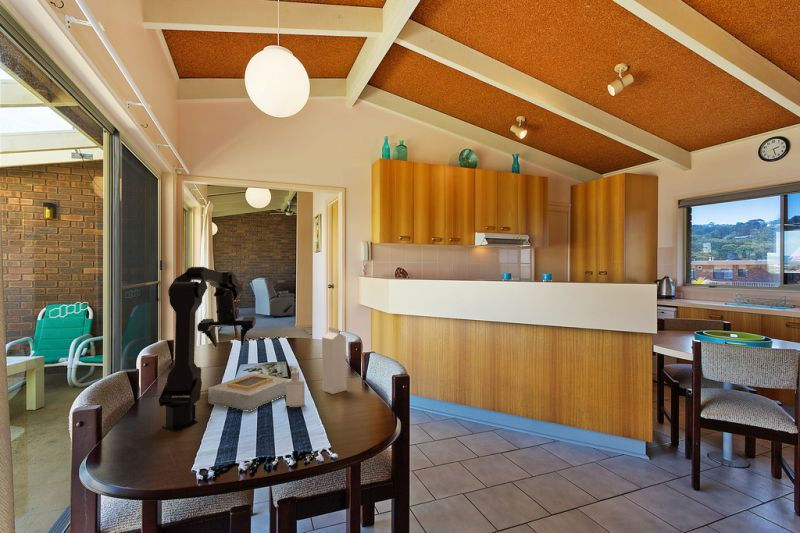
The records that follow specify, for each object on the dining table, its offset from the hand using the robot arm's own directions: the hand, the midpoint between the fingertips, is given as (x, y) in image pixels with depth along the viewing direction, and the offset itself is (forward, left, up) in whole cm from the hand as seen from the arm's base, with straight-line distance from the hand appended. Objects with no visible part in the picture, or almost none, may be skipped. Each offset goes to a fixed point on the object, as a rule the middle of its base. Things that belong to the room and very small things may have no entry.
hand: (229, 345), depth 138 cm
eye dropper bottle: (-5, -35, -15) cm, 39 cm away
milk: (+12, -38, -15) cm, 43 cm away
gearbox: (-4, -17, -15) cm, 23 cm away
